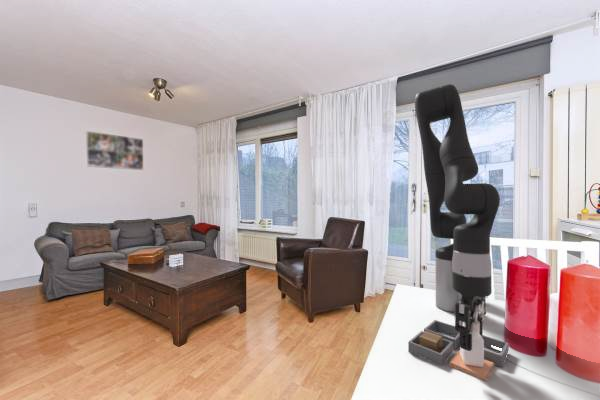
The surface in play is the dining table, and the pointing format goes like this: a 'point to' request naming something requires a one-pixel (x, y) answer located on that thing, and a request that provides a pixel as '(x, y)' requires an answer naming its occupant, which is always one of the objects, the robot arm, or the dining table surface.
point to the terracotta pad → (472, 367)
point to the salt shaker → (474, 348)
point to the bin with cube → (430, 354)
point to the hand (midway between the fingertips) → (471, 341)
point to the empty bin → (447, 329)
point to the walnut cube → (431, 341)
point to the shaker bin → (494, 357)
